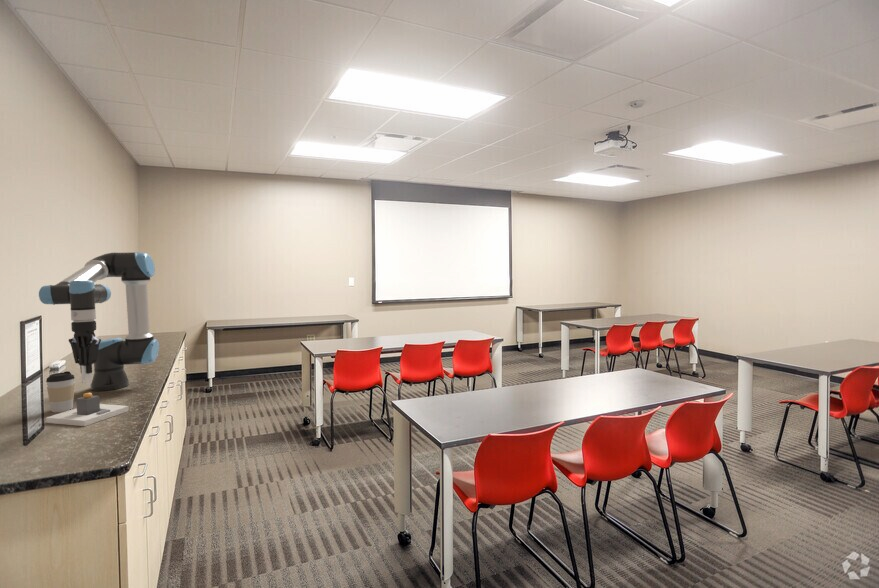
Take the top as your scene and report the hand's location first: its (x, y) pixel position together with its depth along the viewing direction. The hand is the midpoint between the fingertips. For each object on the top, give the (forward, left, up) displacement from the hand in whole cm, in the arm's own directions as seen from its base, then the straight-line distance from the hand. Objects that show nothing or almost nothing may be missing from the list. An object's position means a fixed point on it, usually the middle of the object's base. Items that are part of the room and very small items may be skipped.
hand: (86, 381), depth 177 cm
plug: (0, 0, -13) cm, 13 cm away
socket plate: (0, 0, -14) cm, 14 cm away
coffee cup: (-5, -20, -14) cm, 25 cm away
